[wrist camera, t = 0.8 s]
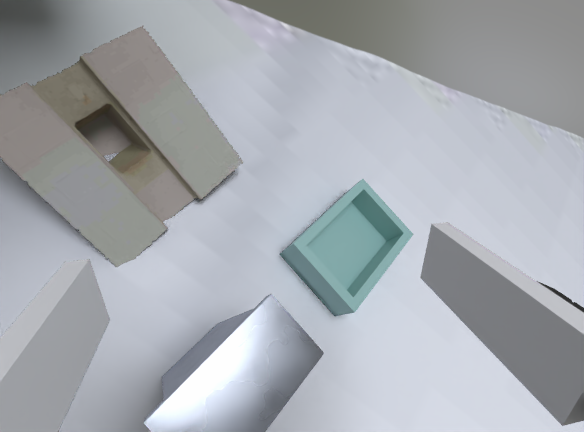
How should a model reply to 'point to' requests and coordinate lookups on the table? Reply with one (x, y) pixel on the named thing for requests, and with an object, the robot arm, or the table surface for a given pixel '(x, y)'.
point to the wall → (115, 144)
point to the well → (348, 249)
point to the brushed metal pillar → (237, 374)
